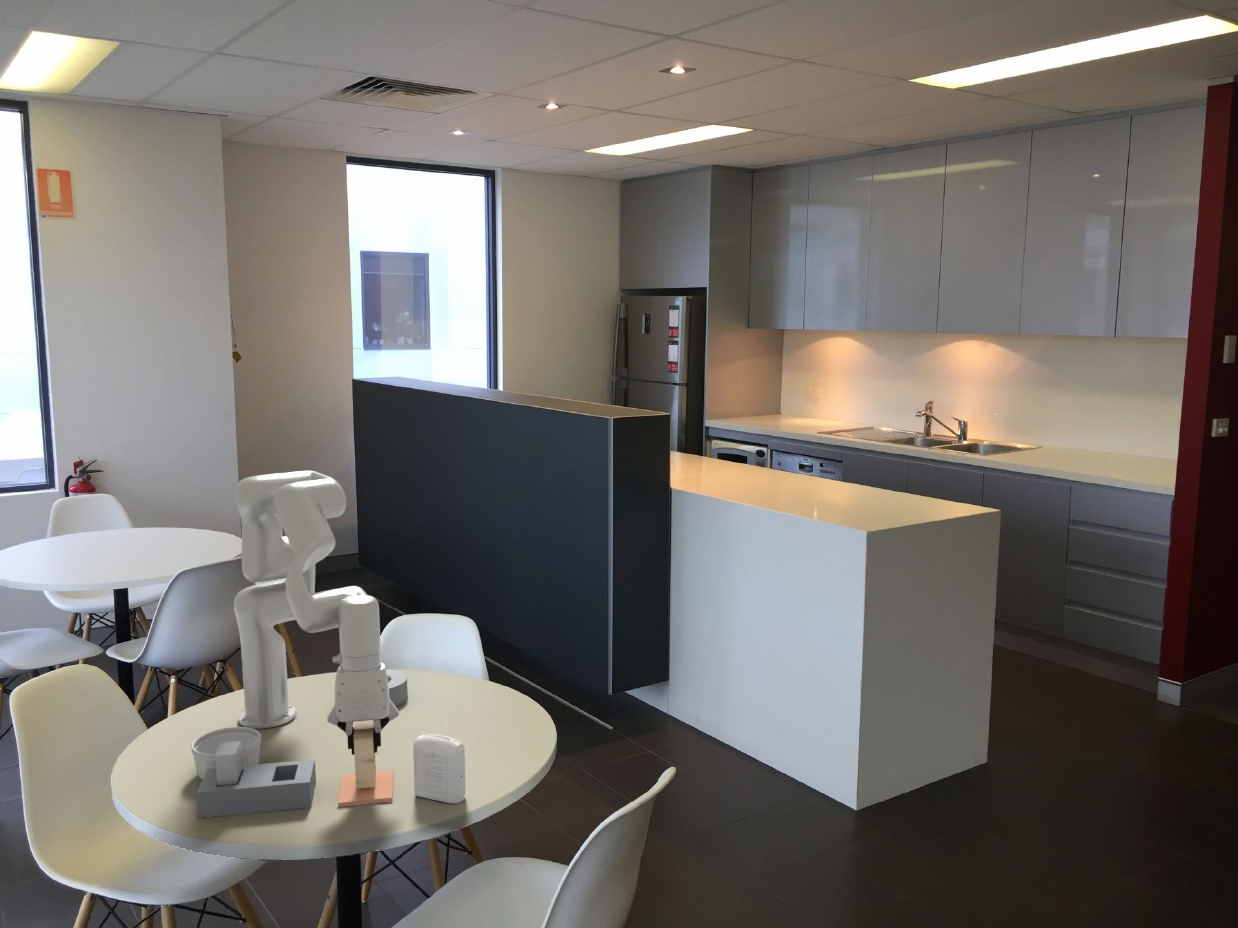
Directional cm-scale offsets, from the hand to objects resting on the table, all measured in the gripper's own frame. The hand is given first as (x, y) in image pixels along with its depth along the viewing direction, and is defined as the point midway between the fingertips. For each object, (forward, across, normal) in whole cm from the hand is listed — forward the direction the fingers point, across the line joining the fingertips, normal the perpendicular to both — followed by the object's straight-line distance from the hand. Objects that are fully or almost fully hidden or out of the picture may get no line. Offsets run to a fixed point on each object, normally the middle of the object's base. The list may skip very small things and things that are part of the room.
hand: (364, 749), depth 193 cm
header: (+8, -20, 0) cm, 22 cm away
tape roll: (+9, 0, +48) cm, 49 cm away
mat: (+8, 0, 0) cm, 8 cm away
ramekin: (+9, -28, +14) cm, 32 cm away
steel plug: (+8, -25, 0) cm, 26 cm away
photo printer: (+8, +14, -6) cm, 17 cm away
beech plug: (+6, 0, 0) cm, 6 cm away
